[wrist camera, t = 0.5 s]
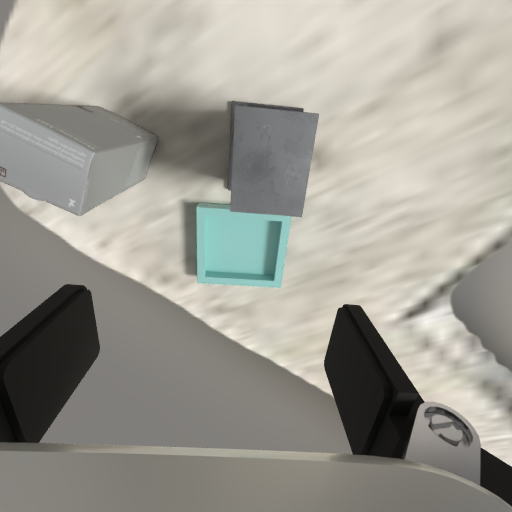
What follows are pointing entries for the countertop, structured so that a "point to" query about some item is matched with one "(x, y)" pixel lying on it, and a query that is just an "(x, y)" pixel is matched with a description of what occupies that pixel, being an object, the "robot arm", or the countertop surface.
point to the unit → (270, 158)
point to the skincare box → (71, 153)
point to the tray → (240, 246)
